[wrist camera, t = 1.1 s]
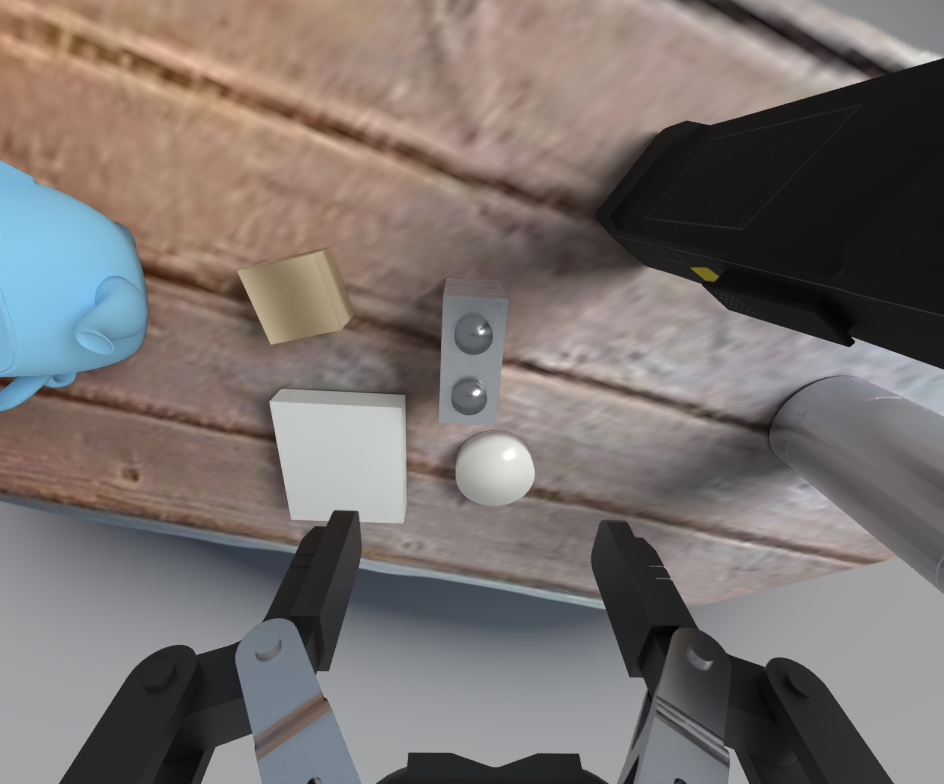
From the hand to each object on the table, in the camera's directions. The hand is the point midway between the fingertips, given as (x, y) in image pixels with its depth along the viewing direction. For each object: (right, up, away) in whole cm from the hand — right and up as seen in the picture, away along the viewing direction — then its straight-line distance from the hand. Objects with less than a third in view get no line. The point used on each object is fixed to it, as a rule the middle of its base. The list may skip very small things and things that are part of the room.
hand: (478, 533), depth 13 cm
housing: (0, +9, +18) cm, 20 cm away
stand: (-11, 0, +22) cm, 25 cm away
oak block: (-12, +12, +16) cm, 24 cm away
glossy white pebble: (+2, -2, +23) cm, 24 cm away
